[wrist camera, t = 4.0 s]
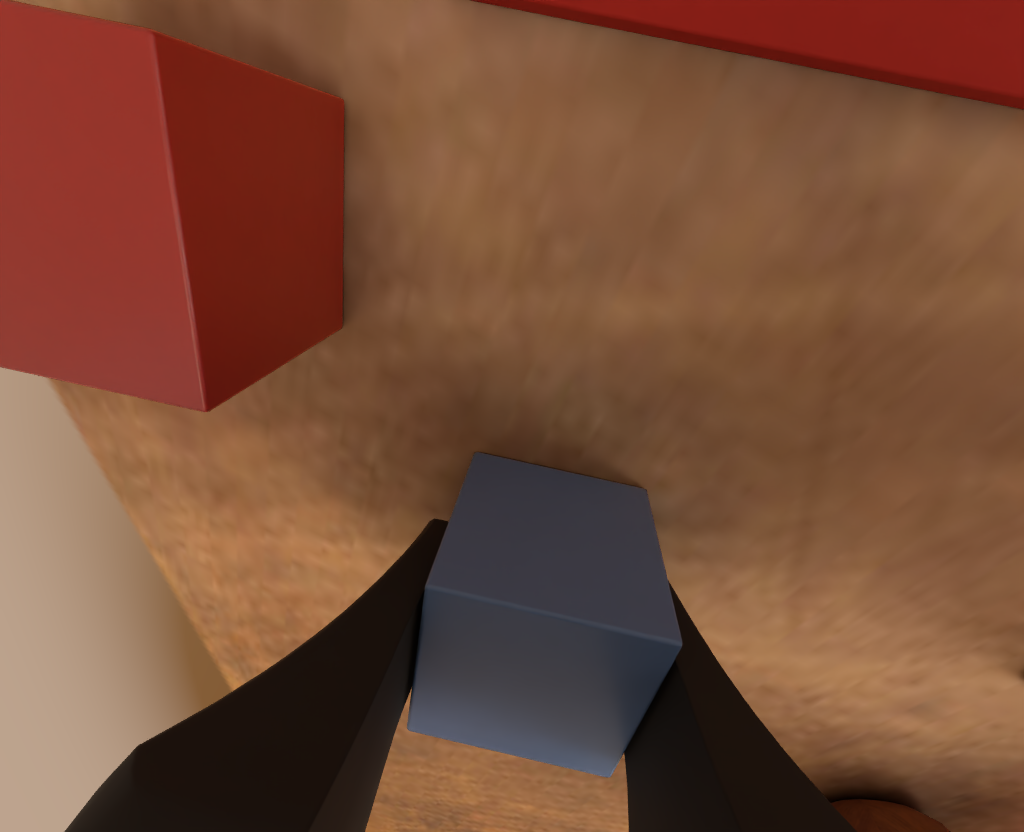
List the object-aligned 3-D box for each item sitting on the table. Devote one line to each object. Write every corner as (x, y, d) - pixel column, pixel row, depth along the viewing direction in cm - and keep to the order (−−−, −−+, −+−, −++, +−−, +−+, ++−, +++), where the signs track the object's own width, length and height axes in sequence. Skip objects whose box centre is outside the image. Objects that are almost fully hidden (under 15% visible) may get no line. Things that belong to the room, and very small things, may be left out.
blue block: (600, 607, 14) (610, 780, 10) (453, 574, 14) (405, 732, 10) (647, 488, 12) (685, 644, 8) (474, 449, 12) (424, 586, 8)
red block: (343, 328, 11) (207, 415, 7) (158, 288, 11) (-84, 350, 7) (345, 99, 9) (150, 27, 5) (116, 52, 9) (-266, -56, 5)
